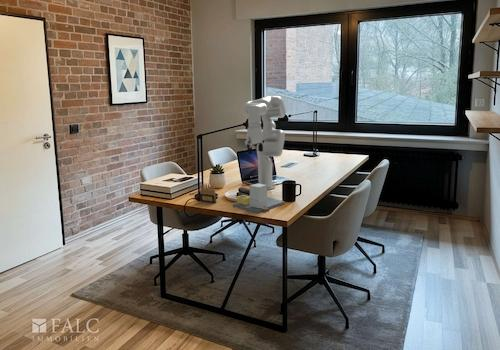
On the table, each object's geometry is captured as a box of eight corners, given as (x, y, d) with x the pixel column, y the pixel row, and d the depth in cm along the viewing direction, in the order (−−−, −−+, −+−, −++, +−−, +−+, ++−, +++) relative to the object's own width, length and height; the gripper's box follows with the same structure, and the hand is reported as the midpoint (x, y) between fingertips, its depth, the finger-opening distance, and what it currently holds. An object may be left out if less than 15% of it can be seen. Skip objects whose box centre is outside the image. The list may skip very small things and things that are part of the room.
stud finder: (243, 201, 263) (243, 194, 262) (251, 203, 258) (251, 196, 258) (237, 202, 260) (237, 196, 259) (245, 205, 255) (245, 198, 254)
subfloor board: (257, 197, 278) (257, 194, 277) (287, 204, 261) (287, 202, 260) (229, 205, 261) (229, 202, 261) (259, 214, 244) (259, 211, 244)
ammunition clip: (216, 202, 268) (215, 183, 265) (214, 203, 266) (213, 184, 263) (201, 200, 272) (200, 182, 270) (199, 201, 271) (199, 182, 268)
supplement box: (267, 206, 254) (267, 184, 251) (258, 208, 248) (258, 187, 246) (257, 203, 259) (257, 182, 256) (249, 206, 253) (249, 185, 251)
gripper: (259, 122, 274) (260, 149, 278) (240, 126, 262) (241, 154, 266) (268, 123, 269) (269, 150, 273) (249, 127, 257) (250, 156, 261)
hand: (255, 152), depth 270 cm, fingers open, 9 cm apart
